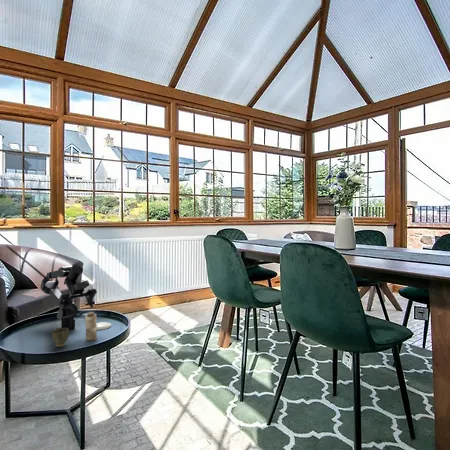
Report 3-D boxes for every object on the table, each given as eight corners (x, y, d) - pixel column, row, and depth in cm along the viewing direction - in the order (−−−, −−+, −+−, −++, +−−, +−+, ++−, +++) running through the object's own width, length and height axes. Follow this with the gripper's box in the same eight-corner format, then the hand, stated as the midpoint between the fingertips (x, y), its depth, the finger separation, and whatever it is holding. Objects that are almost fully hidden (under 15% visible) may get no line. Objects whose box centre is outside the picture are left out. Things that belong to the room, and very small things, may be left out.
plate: (92, 331, 177) (91, 329, 177) (88, 326, 187) (88, 324, 187) (113, 327, 183) (113, 325, 183) (108, 322, 192) (108, 321, 192)
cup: (63, 342, 161) (62, 326, 161) (72, 345, 158) (72, 328, 158) (48, 347, 155) (47, 330, 155) (57, 350, 151) (57, 332, 151)
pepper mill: (86, 341, 162) (86, 315, 162) (85, 338, 166) (84, 312, 166) (97, 339, 165) (97, 313, 165) (95, 336, 169) (95, 311, 169)
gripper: (60, 278, 167) (71, 303, 160) (94, 273, 181) (106, 296, 174) (53, 292, 172) (63, 317, 165) (87, 286, 186) (98, 309, 179)
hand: (84, 309), depth 171 cm, fingers open, 9 cm apart
